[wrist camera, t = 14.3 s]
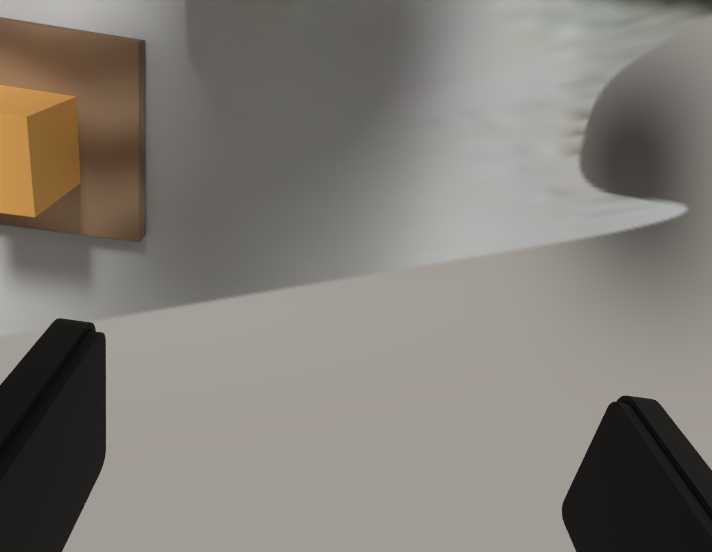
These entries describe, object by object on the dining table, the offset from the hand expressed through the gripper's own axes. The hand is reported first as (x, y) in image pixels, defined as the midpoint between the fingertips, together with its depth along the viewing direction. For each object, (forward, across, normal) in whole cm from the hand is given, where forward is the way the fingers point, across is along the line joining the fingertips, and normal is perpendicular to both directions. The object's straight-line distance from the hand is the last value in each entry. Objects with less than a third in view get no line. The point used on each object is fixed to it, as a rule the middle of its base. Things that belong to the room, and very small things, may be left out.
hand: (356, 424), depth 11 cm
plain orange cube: (+32, +20, +6) cm, 38 cm away
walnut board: (+34, +20, +6) cm, 40 cm away
